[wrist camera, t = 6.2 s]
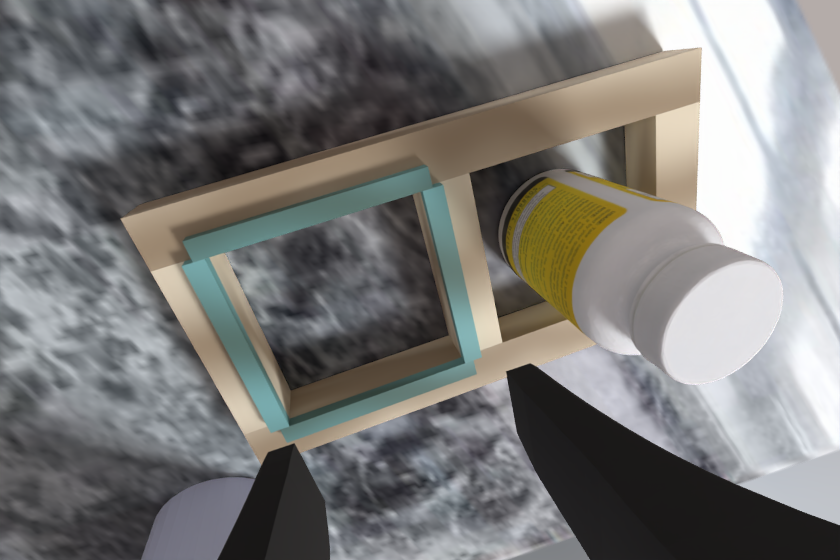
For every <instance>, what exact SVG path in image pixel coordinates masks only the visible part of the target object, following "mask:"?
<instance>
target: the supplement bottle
mask: <svg viewBox="0 0 840 560" xmlns="http://www.w3.org/2000/svg"><path fill="white" fill-rule="evenodd" d="M499 244H500V249H501V252H502V255H503V257H504V259H505V261H506V262H507V264H508V265H509V267H510V268H511V269H512V270H513V271H514V272H515V273H516V274H517V275H518V276H519V277H520V278H521V279H522V280H523V281H525V282H526V283H527V284H528V285H529V286H530V287H531V288H533V289H534V290H535V291H536V292H537V293H538V294H539V295H540V296H541V297H543V298H544V299H545V300H546V301H547V302H548V303H549V304H551V305H552V306H553V307H554V308H555V309H556V310H558V311H559V312H560V313H561V314H562V315H563V316H564V317H565V318H566V319H568V320H569V321H570V322H571V323H572V324H573V325H574V326H575V327H576V328H578V329H579V330H580V331H581V332H582V333H583V334H585V335H586V336H587V337H588V338H590V339H591V340H592V341H594V342H595V343H596V344H598V345H599V346H601V347H603V348H604V349H607V350H609V351H612V352H615V353H619V354H625V355H643V357H644V358H645V359H647V360H648V361H649V362H651V363H652V364H654V365H655V366H657V367H658V368H659V369H661V370H662V371H663V372H664V373H666V374H667V375H668V376H669V377H671V378H672V379H674V380H676V381H678V382H681V383H685V384H691V385H699V384H706V383H710V382H714V381H717V380H720V379H722V378H724V377H726V376H728V375H730V374H732V373H733V372H735V371H736V370H738V369H740V368H741V367H742V366H744V365H745V364H746V363H747V362H748V361H749V360H751V359H752V358H753V357H754V356H755V355H756V354H757V353H758V352H759V350H760V349H761V348H762V347H763V346H764V344H765V343H766V342H767V340H768V339H769V337H770V336H771V334H772V332H773V330H774V328H775V326H776V324H777V322H778V319H779V316H780V313H781V309H782V305H783V288H782V284H781V280H780V278H779V276H778V274H777V273H776V271H775V270H774V269H773V268H772V267H771V266H769V265H768V264H767V263H765V262H763V261H761V260H759V259H757V258H754V257H752V256H749V255H747V254H744V253H742V252H739V251H737V250H735V249H732V248H729V247H726V246H724V242H723V239H722V237H721V235H720V233H719V231H718V230H717V228H716V227H715V225H714V224H713V223H712V222H711V221H710V220H709V219H708V218H707V217H705V216H704V215H703V214H701V213H699V212H698V211H696V210H694V209H692V208H689V207H686V206H684V205H681V204H678V203H675V202H672V201H669V200H666V199H662V198H659V197H656V196H653V195H650V194H647V193H644V192H641V191H638V190H635V189H632V188H629V187H626V186H622V185H619V184H616V183H613V182H610V181H607V180H604V179H601V178H598V177H595V176H592V175H589V174H586V173H582V172H579V171H575V170H570V169H554V170H549V171H546V172H543V173H540V174H538V175H536V176H534V177H532V178H531V179H529V180H528V181H526V182H525V183H524V184H523V185H522V186H520V187H519V188H518V189H517V190H516V192H515V193H514V194H513V195H512V197H511V198H510V200H509V201H508V203H507V204H506V206H505V208H504V211H503V214H502V217H501V220H500V225H499Z"/></svg>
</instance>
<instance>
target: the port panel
mask: <svg viewBox="0 0 840 560" xmlns="http://www.w3.org/2000/svg"><path fill="white" fill-rule="evenodd" d="M701 51H702V48H691V49H681V50H670V51H663V52H659V53H656V54H652V55H649V56H646V57H642V58H639V59H635V60H632V61H629V62H625V63H622V64H618V65H615V66H611V67H608V68H605V69H601V70H598V71H594V72H591V73H588V74H584V75H581V76H577V77H574V78H570V79H567V80H564V81H560V82H557V83H553V84H550V85H547V86H543V87H540V88H536V89H533V90H529V91H526V92H523V93H519V94H516V95H512V96H509V97H506V98H502V99H499V100H495V101H492V102H488V103H485V104H482V105H478V106H475V107H471V108H468V109H465V110H461V111H458V112H454V113H451V114H447V115H444V116H441V117H437V118H434V119H430V120H427V121H424V122H420V123H417V124H413V125H410V126H406V127H403V128H400V129H396V130H393V131H389V132H386V133H383V134H379V135H376V136H372V137H369V138H365V139H362V140H359V141H355V142H352V143H348V144H345V145H342V146H338V147H335V148H331V149H328V150H324V151H321V152H318V153H314V154H311V155H307V156H304V157H301V158H297V159H294V160H290V161H287V162H283V163H280V164H277V165H273V166H270V167H266V168H263V169H260V170H256V171H253V172H249V173H246V174H242V175H239V176H236V177H232V178H229V179H225V180H222V181H219V182H215V183H212V184H208V185H205V186H201V187H198V188H195V189H191V190H188V191H184V192H181V193H178V194H174V195H171V196H167V197H164V198H160V199H157V200H154V201H150V202H147V203H143V204H140V205H139V206H137V207H136V208H135V209H133V210H132V211H130V212H129V213H128V214H126V215H125V216H124V217H122V218H121V221H122V223H123V224H124V226H125V228H126V230H127V231H128V233H129V235H130V237H131V238H132V240H133V242H134V243H135V245H136V247H137V249H138V250H139V252H140V254H141V256H142V257H143V259H144V261H145V263H146V264H147V266H148V268H149V270H150V271H151V273H152V275H153V277H154V278H155V280H156V282H157V284H158V285H159V287H160V289H161V291H162V292H163V294H164V296H165V298H166V299H167V301H168V303H169V305H170V306H171V308H172V310H173V312H174V313H175V315H176V317H177V319H178V320H179V322H180V324H181V325H182V327H183V329H184V331H185V332H186V334H187V336H188V338H189V339H190V341H191V343H192V345H193V346H194V348H195V350H196V352H197V353H198V355H199V357H200V359H201V360H202V362H203V364H204V366H205V367H206V369H207V371H208V373H209V374H210V376H211V378H212V380H213V381H214V383H215V385H216V387H217V388H218V390H219V392H220V394H221V395H222V397H223V399H224V400H225V402H226V404H227V406H228V407H229V409H230V411H231V413H232V414H233V416H234V418H235V420H236V421H237V423H238V425H239V427H240V428H241V430H242V432H243V434H244V435H245V437H246V439H247V441H248V442H249V444H250V446H251V448H252V449H253V451H254V453H255V455H256V456H257V458H258V460H259V462H260V463H261V465H262V463H263V461H264V459H265V457H266V455H267V453H268V452H270V451H273V450H276V449H279V448H281V447H284V446H287V445H290V444H293V443H295V445H296V447H297V449H298V451H299V452H300V453H301V452H304V451H307V450H309V449H312V448H315V447H318V446H320V445H323V444H326V443H329V442H331V441H334V440H337V439H339V438H342V437H345V436H348V435H350V434H353V433H356V432H359V431H361V430H364V429H367V428H369V427H372V426H375V425H378V424H380V423H383V422H386V421H389V420H391V419H394V418H397V417H400V416H402V415H405V414H408V413H410V412H413V411H416V410H419V409H421V408H424V407H427V406H430V405H432V404H435V403H438V402H440V401H443V400H446V399H449V398H451V397H454V396H457V395H460V394H462V393H465V392H468V391H471V390H473V389H476V388H479V387H481V386H484V385H487V384H490V383H492V382H495V381H498V380H501V379H503V378H506V377H507V374H506V371H508V370H511V369H514V368H517V367H520V366H523V365H526V364H529V363H531V364H533V365H535V366H539V365H542V364H544V363H547V362H550V361H552V360H555V359H558V358H561V357H563V356H566V355H569V354H572V353H574V352H577V351H580V350H583V349H585V348H588V347H591V346H593V345H596V343H595V342H594V341H592V340H591V339H590V338H588V337H587V336H586V335H585V334H583V333H582V332H581V331H580V330H579V329H578V328H576V327H575V326H574V325H573V324H572V323H571V322H570V321H569V320H568V319H566V318H565V317H564V316H563V315H562V314H561V313H560V312H559V311H558V310H556V309H555V308H554V307H553V306H552V305H551V304H549V303H548V302H547V301H545V302H543V303H540V304H537V305H534V306H531V307H528V308H525V309H523V310H520V311H517V312H514V313H511V314H508V315H505V316H502V317H500V318H498V317H497V312H496V307H495V302H494V297H493V292H492V287H491V282H490V277H489V271H488V266H487V261H486V256H485V251H484V246H483V241H482V236H481V231H480V225H479V220H478V215H477V210H476V205H475V200H474V195H473V190H472V185H471V179H470V174H469V173H471V172H474V171H477V170H481V169H484V168H487V167H490V166H494V165H497V164H500V163H503V162H507V161H510V160H513V159H516V158H519V157H523V156H526V155H529V154H532V153H536V152H539V151H542V150H545V149H549V148H552V147H555V146H558V145H561V144H565V143H568V142H571V141H574V140H578V139H581V138H584V137H587V136H591V135H594V134H597V133H600V132H603V131H607V130H610V129H613V128H616V127H620V126H623V125H624V126H625V153H626V180H627V187H629V188H632V189H635V190H638V191H641V192H644V193H647V194H650V195H653V196H656V197H659V198H662V199H666V200H669V201H672V202H675V203H678V204H681V205H684V206H686V207H689V208H692V209H694V210H696V198H697V169H698V139H699V110H700V81H701ZM412 194H413V198H414V202H415V206H416V210H417V214H418V217H419V221H420V225H421V229H422V233H423V237H424V241H425V245H426V248H427V252H428V256H429V260H430V264H431V268H432V272H433V276H434V279H435V283H436V287H437V291H438V295H439V299H440V303H441V307H442V310H443V314H444V318H445V322H446V326H447V330H448V334H449V335H448V336H445V337H442V338H440V339H437V340H434V341H431V342H428V343H425V344H422V345H420V346H417V347H414V348H411V349H408V350H405V351H402V352H400V353H397V354H394V355H391V356H388V357H385V358H382V359H380V360H377V361H374V362H371V363H368V364H365V365H362V366H360V367H357V368H354V369H351V370H348V371H345V372H342V373H340V374H337V375H334V376H331V377H328V378H325V379H322V380H320V381H317V382H314V383H311V384H308V385H305V386H302V387H300V388H297V389H294V390H290V388H289V386H288V384H287V382H286V380H285V378H284V375H283V373H282V371H281V369H280V367H279V365H278V363H277V361H276V359H275V357H274V355H273V353H272V350H271V348H270V346H269V344H268V342H267V340H266V338H265V336H264V334H263V332H262V330H261V328H260V326H259V323H258V321H257V319H256V317H255V315H254V313H253V311H252V309H251V307H250V305H249V303H248V301H247V298H246V296H245V294H244V292H243V290H242V288H241V286H240V284H239V282H238V280H237V278H236V276H235V273H234V271H233V269H232V267H231V265H230V263H229V261H228V259H227V257H226V255H225V252H229V251H232V250H235V249H238V248H242V247H245V246H248V245H251V244H254V243H258V242H261V241H264V240H267V239H271V238H274V237H277V236H280V235H283V234H287V233H290V232H293V231H296V230H300V229H303V228H306V227H309V226H312V225H316V224H319V223H322V222H325V221H329V220H332V219H335V218H338V217H341V216H345V215H348V214H351V213H354V212H358V211H361V210H364V209H367V208H370V207H374V206H377V205H380V204H383V203H387V202H390V201H393V200H396V199H399V198H403V197H406V196H409V195H412Z"/></svg>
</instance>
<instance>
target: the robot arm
mask: <svg viewBox="0 0 840 560" xmlns="http://www.w3.org/2000/svg"><path fill="white" fill-rule="evenodd" d="M506 374H507V380H508V385H509V391H510V396H511V402H512V407H513V413H514V418H515V424H516V429H517V434H518V436H519V438H520V440H521V442H522V444H523V446H524V448H525V450H526V453H527V455H528V457H529V459H530V461H531V463H532V465H533V467H534V469H535V471H536V473H537V475H538V476H539V478H540V480H541V481H542V483H543V484H544V486H545V488H546V489H547V491H548V493H549V494H550V496H551V497H552V499H553V501H554V502H555V504H556V505H557V507H558V509H559V510H560V512H561V514H562V515H563V517H564V518H565V520H566V522H567V523H568V525H569V526H570V528H571V530H572V531H573V533H574V534H575V536H576V538H577V539H578V541H579V542H580V544H581V546H582V547H583V549H584V550H585V552H586V554H587V555H588V557H589V559H590V560H840V525H837V524H834V523H832V522H829V521H826V520H823V519H821V518H818V517H815V516H812V515H810V514H807V513H804V512H802V511H799V510H797V509H794V508H792V507H789V506H787V505H785V504H782V503H780V502H777V501H775V500H772V499H770V498H768V497H765V496H763V495H760V494H758V493H755V492H753V491H751V490H748V489H746V488H743V487H741V486H739V485H736V484H734V483H732V482H730V481H727V480H725V479H723V478H721V477H719V476H717V475H715V474H712V473H710V472H708V471H706V470H704V469H702V468H700V467H698V466H696V465H694V464H692V463H690V462H688V461H686V460H684V459H682V458H680V457H678V456H676V455H674V454H672V453H670V452H668V451H666V450H665V449H663V448H661V447H659V446H657V445H655V444H654V443H652V442H650V441H648V440H647V439H645V438H643V437H641V436H640V435H638V434H636V433H634V432H633V431H631V430H629V429H628V428H626V427H624V426H623V425H621V424H619V423H618V422H616V421H614V420H613V419H611V418H610V417H608V416H607V415H605V414H604V413H602V412H600V411H599V410H597V409H596V408H594V407H593V406H591V405H590V404H588V403H587V402H585V401H584V400H582V399H581V398H579V397H578V396H576V395H575V394H573V393H572V392H571V391H569V390H568V389H566V388H565V387H563V386H562V385H561V384H559V383H558V382H556V381H555V380H554V379H552V378H551V377H550V376H548V375H547V374H546V373H544V372H543V371H542V370H540V369H539V368H538V367H536V366H535V365H533V364H531V363H529V364H526V365H523V366H520V367H517V368H514V369H511V370H508V371H506ZM141 560H330V545H329V535H328V525H327V516H326V508H325V500H324V498H323V497H322V495H321V493H320V491H319V489H318V487H317V485H316V483H315V481H314V479H313V477H312V475H311V474H310V472H309V470H308V468H307V466H306V464H305V462H304V460H303V458H302V456H301V454H300V452H299V451H298V449H297V447H296V445H295V443H293V444H290V445H287V446H284V447H281V448H279V449H276V450H273V451H270V452H268V453H267V455H266V457H265V459H264V461H263V463H262V465H261V467H260V470H259V472H258V474H257V476H256V479H251V478H244V477H226V478H219V479H212V480H209V481H205V482H202V483H198V484H196V485H193V486H191V487H189V488H187V489H184V490H183V491H181V492H180V493H178V494H177V495H175V496H174V497H172V498H171V499H170V500H169V501H168V502H167V503H166V504H165V505H164V506H163V507H162V508H161V510H160V511H159V513H158V514H157V516H156V518H155V521H154V523H153V526H152V529H151V532H150V535H149V538H148V541H147V544H146V547H145V550H144V552H143V555H142V558H141Z"/></svg>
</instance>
